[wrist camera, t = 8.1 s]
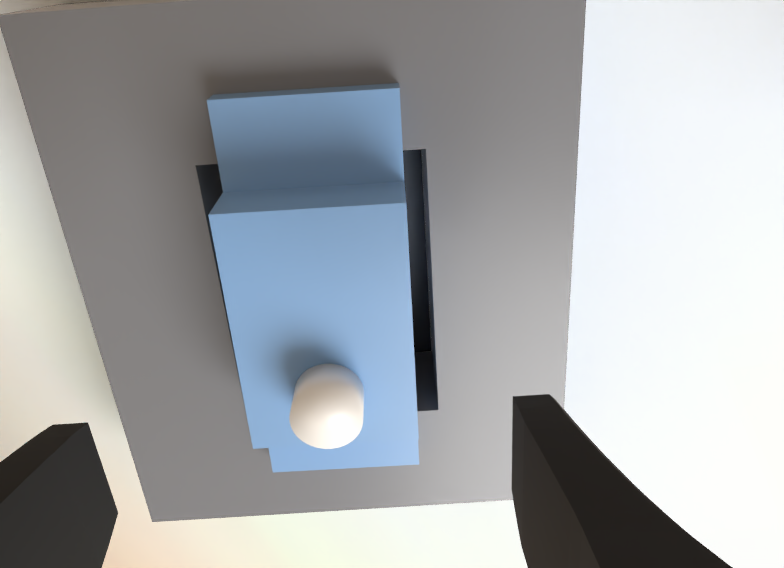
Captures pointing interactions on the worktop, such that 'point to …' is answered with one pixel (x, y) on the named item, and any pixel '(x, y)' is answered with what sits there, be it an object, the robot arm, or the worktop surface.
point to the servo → (318, 273)
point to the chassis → (203, 189)
